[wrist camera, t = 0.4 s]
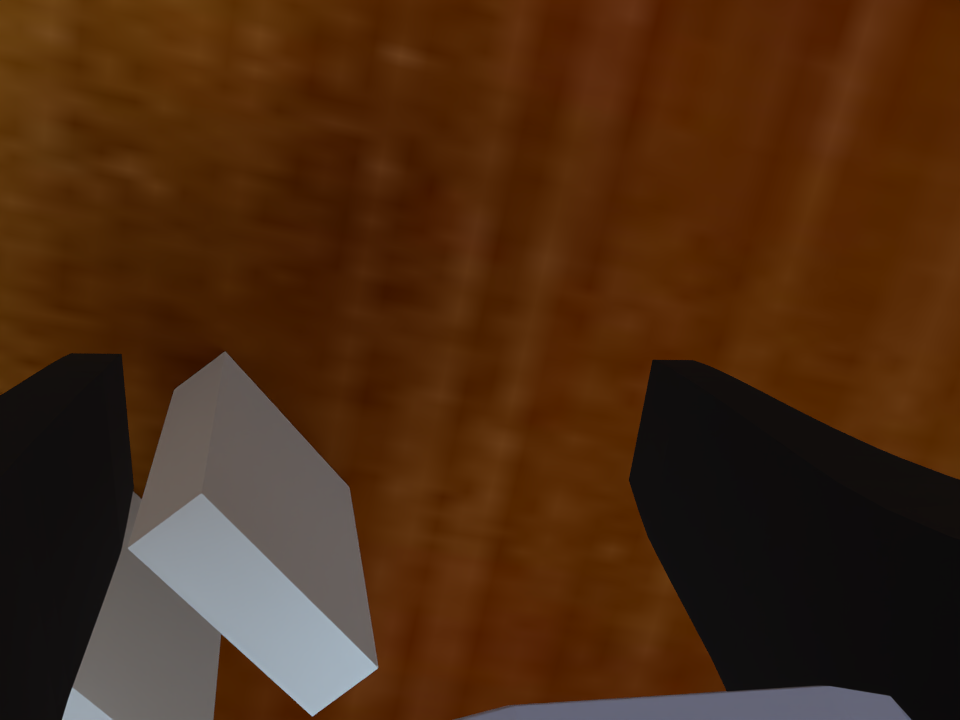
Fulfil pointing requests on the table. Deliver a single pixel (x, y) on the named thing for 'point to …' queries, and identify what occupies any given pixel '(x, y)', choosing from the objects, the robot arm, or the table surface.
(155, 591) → the domino
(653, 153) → the table surface
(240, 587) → the domino
